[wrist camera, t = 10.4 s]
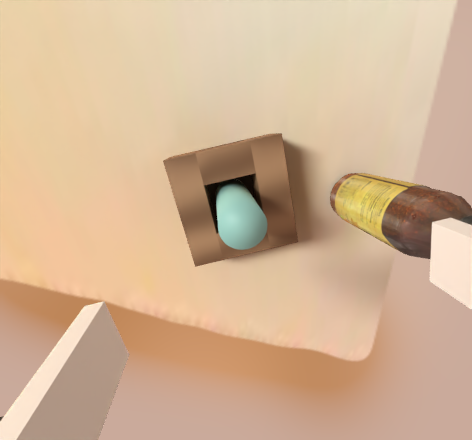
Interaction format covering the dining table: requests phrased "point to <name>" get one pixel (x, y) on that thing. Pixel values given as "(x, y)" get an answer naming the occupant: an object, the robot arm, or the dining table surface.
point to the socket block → (224, 168)
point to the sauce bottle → (396, 210)
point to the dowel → (239, 216)
